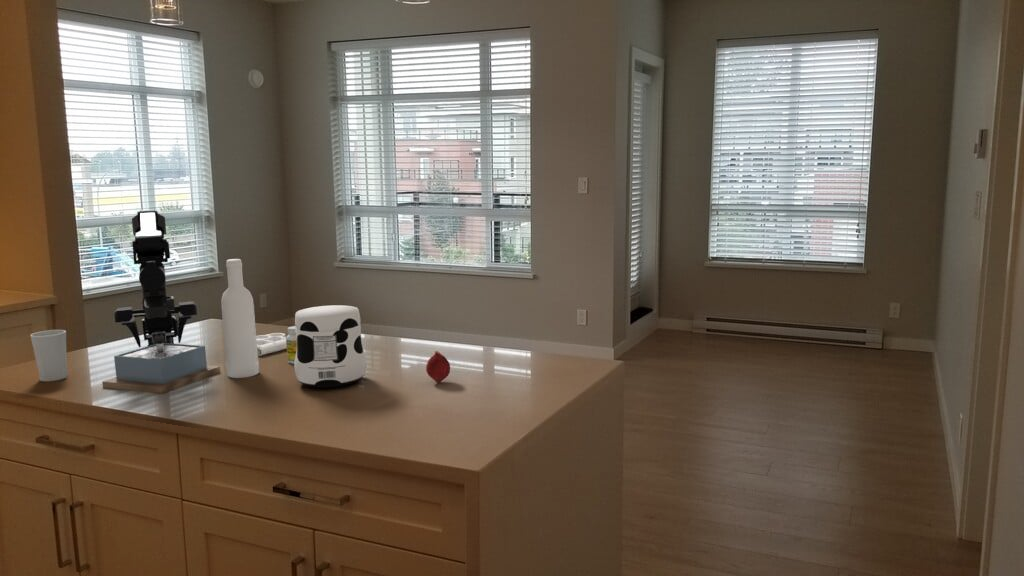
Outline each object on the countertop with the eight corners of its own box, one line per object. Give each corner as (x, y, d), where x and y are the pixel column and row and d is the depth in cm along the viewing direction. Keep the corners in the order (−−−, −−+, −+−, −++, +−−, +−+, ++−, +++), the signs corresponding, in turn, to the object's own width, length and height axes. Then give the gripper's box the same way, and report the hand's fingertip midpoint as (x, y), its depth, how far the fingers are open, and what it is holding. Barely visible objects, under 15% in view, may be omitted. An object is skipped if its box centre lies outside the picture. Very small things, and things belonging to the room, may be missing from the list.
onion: (454, 380, 194) (453, 348, 193) (445, 386, 189) (443, 354, 187) (433, 378, 196) (431, 347, 195) (423, 385, 190) (421, 352, 189)
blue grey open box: (156, 363, 212) (153, 342, 211) (207, 368, 206) (204, 345, 205) (109, 378, 198) (107, 355, 197) (163, 384, 192) (160, 360, 191)
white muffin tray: (252, 360, 220) (220, 354, 228) (303, 347, 235) (271, 341, 243) (251, 348, 220) (219, 343, 228) (302, 336, 234) (270, 331, 242)
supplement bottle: (311, 359, 218) (309, 325, 216) (301, 364, 213) (298, 329, 211) (294, 358, 220) (292, 324, 218) (283, 363, 215) (281, 329, 213)
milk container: (342, 369, 207) (338, 301, 204) (381, 381, 195) (377, 309, 192) (282, 383, 195) (277, 312, 192) (319, 397, 183) (314, 321, 180)
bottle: (221, 374, 205) (211, 260, 200) (249, 368, 210) (240, 256, 205) (237, 380, 199) (226, 262, 194) (265, 373, 205) (256, 259, 200)
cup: (55, 382, 201) (49, 336, 199) (28, 381, 203) (22, 336, 201) (78, 374, 209) (73, 330, 207) (52, 373, 210) (46, 329, 209)
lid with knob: (160, 346, 208) (158, 326, 208) (198, 349, 204) (196, 329, 203) (121, 358, 197) (119, 336, 196) (160, 361, 192) (158, 339, 192)
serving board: (164, 366, 214) (163, 361, 214) (220, 371, 207) (219, 366, 207) (102, 387, 196) (102, 381, 196) (162, 393, 189) (161, 387, 189)
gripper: (110, 292, 187) (117, 356, 189) (194, 285, 194) (200, 347, 197) (112, 285, 197) (119, 346, 199) (193, 279, 204) (198, 338, 207)
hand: (159, 344), depth 200 cm, fingers open, 9 cm apart
